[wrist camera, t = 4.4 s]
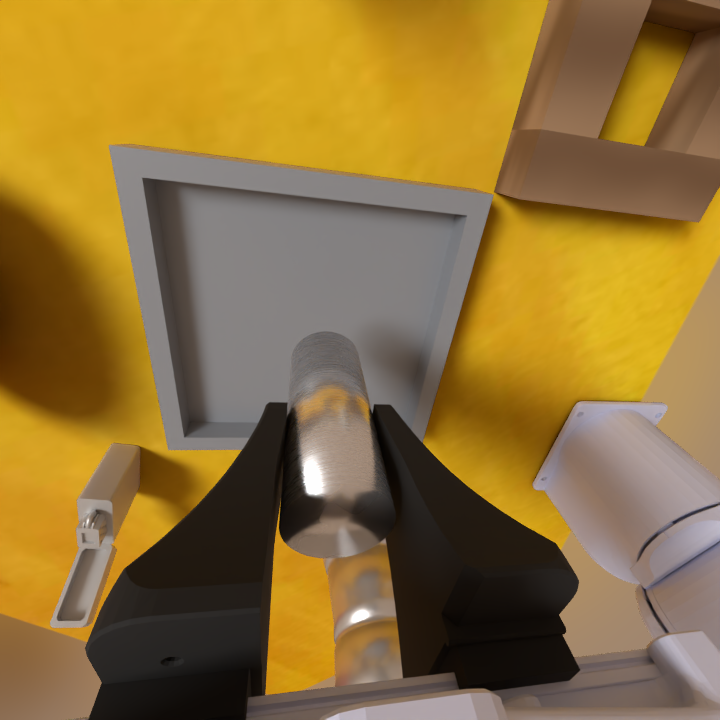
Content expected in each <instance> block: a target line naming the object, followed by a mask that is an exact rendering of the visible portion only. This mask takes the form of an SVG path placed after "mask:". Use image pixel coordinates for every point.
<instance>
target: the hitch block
mask: <svg viewBox="0 0 720 720" xmlns="http://www.w3.org/2000/svg"><path fill="white" fill-rule="evenodd" d="M644 21H647V22H651V23H655V24H659V25H664V26H668V27H672V28H676V29H680V30H684V31H688V32H692V33H696V34H695V36H694V38H693V41H692V43H691V45H690V47H689V50H688V52H687V54H686V56H685V58H684V61H683V63H682V65H681V67H680V69H679V72H678V74H677V76H676V78H675V80H674V83H673V85H672V87H671V89H670V91H669V94H668V96H667V98H666V100H665V102H664V105H663V107H662V109H661V111H660V113H659V116H658V118H657V120H656V122H655V124H654V127H653V129H652V131H651V133H650V135H649V138H648V140H647V142H646V144H645V146H638V145H632V144H626V143H620V142H614V141H609V140H603V139H598V136H599V134H600V131H601V129H602V126H603V123H604V121H605V118H606V116H607V113H608V111H609V108H610V106H611V103H612V101H613V98H614V95H615V93H616V90H617V88H618V85H619V83H620V80H621V78H622V75H623V73H624V70H625V67H626V65H627V62H628V60H629V57H630V55H631V52H632V50H633V47H634V45H635V42H636V40H637V37H638V34H639V32H640V29H641V27H642V24H643V22H644ZM719 186H720V0H549V3H548V6H547V10H546V13H545V17H544V20H543V24H542V27H541V31H540V34H539V38H538V41H537V45H536V48H535V52H534V55H533V59H532V62H531V66H530V69H529V73H528V76H527V80H526V83H525V86H524V90H523V93H522V97H521V100H520V104H519V107H518V111H517V114H516V118H515V121H514V125H513V128H512V132H511V135H510V139H509V142H508V146H507V149H506V153H505V156H504V160H503V163H502V167H501V170H500V174H499V177H498V180H497V184H496V187H495V191H494V192H497V193H500V194H503V195H507V196H510V197H513V198H517V199H522V200H530V201H537V202H545V203H553V204H561V205H568V206H576V207H584V208H592V209H599V210H607V211H615V212H623V213H630V214H638V215H646V216H654V217H661V218H669V219H677V220H685V221H692V222H699V221H700V220H701V218H702V216H703V214H704V213H705V211H706V209H707V207H708V206H709V204H710V202H711V200H712V199H713V197H714V195H715V193H716V192H717V190H718V188H719Z"/></svg>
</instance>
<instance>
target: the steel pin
mask: <svg viewBox="0 0 720 720" xmlns="http://www.w3.org/2000/svg"><path fill="white" fill-rule="evenodd" d="M395 520H396V512H395V508H394V504H393V499H392V495H391V491H390V487H389V482H388V478H387V474H386V470H385V465H384V461H383V457H382V452H381V448H380V444H379V440H378V435H377V431H376V427H375V423H374V418H373V414H372V410H371V406H370V401H369V397H368V393H367V388H366V384H365V380H364V376H363V371H362V367H361V363H360V359H359V354H358V351H357V349H356V347H355V345H354V344H353V343H352V342H351V341H350V340H349V339H348V338H347V337H345V336H343V335H341V334H338V333H335V332H328V331H324V332H317V333H313V334H311V335H308V336H307V337H305V338H304V339H302V340H301V341H300V342H299V343H298V344H297V345H296V347H295V348H294V350H293V353H292V357H291V368H290V382H289V396H288V410H287V427H286V439H285V452H284V465H283V479H282V493H281V507H280V521H279V531H280V535H281V537H282V539H283V541H284V542H285V543H286V544H287V545H288V546H289V547H290V548H292V549H293V550H295V551H297V552H299V553H301V554H304V555H307V556H312V557H317V558H342V557H347V556H352V555H356V554H359V553H362V552H364V551H366V550H369V549H371V548H372V547H374V546H376V545H377V544H379V543H380V542H381V541H383V540H384V539H385V538H386V537H387V536H388V535H389V533H390V532H391V531H392V529H393V527H394V524H395Z"/></svg>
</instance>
